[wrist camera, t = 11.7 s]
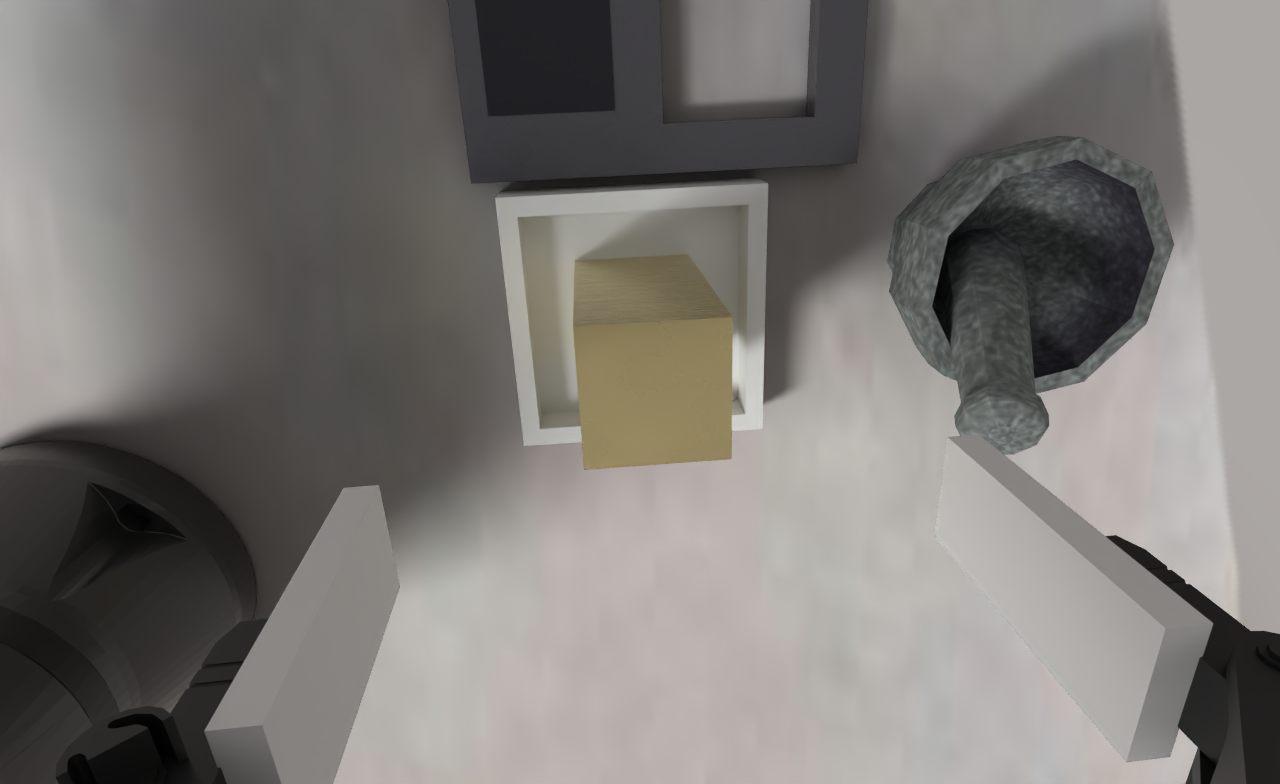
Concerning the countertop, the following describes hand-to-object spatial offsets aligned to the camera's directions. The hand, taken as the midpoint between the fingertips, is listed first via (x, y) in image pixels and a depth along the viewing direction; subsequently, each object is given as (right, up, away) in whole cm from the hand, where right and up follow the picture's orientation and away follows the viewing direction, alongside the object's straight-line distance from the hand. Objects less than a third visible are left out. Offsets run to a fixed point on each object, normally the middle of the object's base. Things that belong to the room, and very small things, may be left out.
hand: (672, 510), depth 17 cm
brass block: (-1, +6, +16) cm, 17 cm away
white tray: (-1, +7, +16) cm, 18 cm away
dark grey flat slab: (0, +17, +12) cm, 21 cm away
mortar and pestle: (+13, +9, +17) cm, 23 cm away
